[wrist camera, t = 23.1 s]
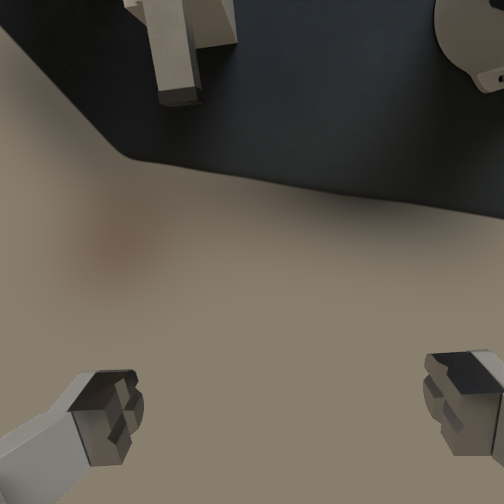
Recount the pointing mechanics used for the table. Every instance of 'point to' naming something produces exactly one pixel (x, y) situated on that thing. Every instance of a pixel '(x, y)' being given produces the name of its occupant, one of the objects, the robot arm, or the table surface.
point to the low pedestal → (202, 20)
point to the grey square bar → (173, 52)
